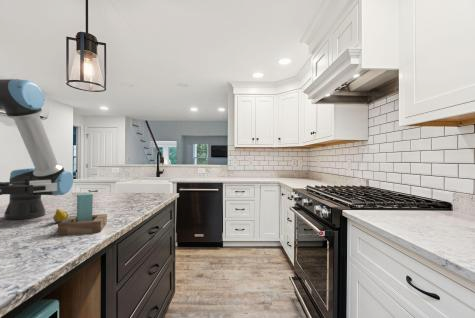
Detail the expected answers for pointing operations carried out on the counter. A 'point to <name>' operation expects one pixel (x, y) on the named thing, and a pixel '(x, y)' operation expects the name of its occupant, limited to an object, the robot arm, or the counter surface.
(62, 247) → the counter surface
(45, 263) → the counter surface
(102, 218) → the block
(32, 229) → the counter surface
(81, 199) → the teal peg
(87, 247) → the counter surface
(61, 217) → the yellow grooved cone
